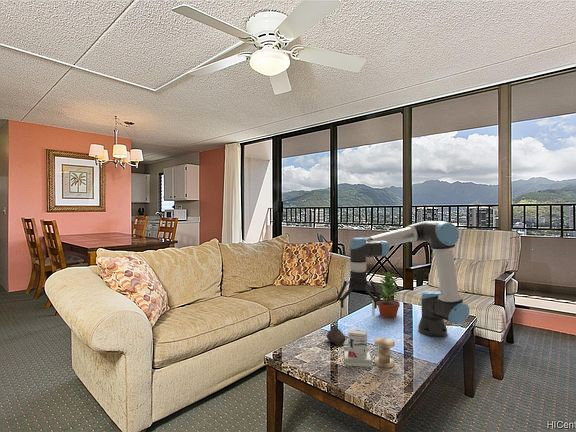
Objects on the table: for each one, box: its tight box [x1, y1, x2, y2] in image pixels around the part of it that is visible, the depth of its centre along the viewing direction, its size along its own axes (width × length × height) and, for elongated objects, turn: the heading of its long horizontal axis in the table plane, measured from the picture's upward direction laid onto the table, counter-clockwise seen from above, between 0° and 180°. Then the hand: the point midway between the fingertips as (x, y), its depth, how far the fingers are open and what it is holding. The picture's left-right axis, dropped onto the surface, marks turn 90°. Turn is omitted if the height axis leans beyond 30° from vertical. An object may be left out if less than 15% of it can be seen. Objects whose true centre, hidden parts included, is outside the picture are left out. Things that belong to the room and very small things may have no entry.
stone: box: [326, 327, 346, 347], centre depth 173 cm, size 10×8×10 cm
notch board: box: [343, 345, 373, 368], centre depth 154 cm, size 12×15×3 cm
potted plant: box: [377, 270, 401, 319], centre depth 213 cm, size 15×15×30 cm
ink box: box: [347, 328, 368, 359], centre depth 154 cm, size 8×5×12 cm, turn 73°
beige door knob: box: [373, 337, 396, 369], centre depth 149 cm, size 9×9×10 cm
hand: (358, 314), depth 154 cm, fingers open, 13 cm apart
